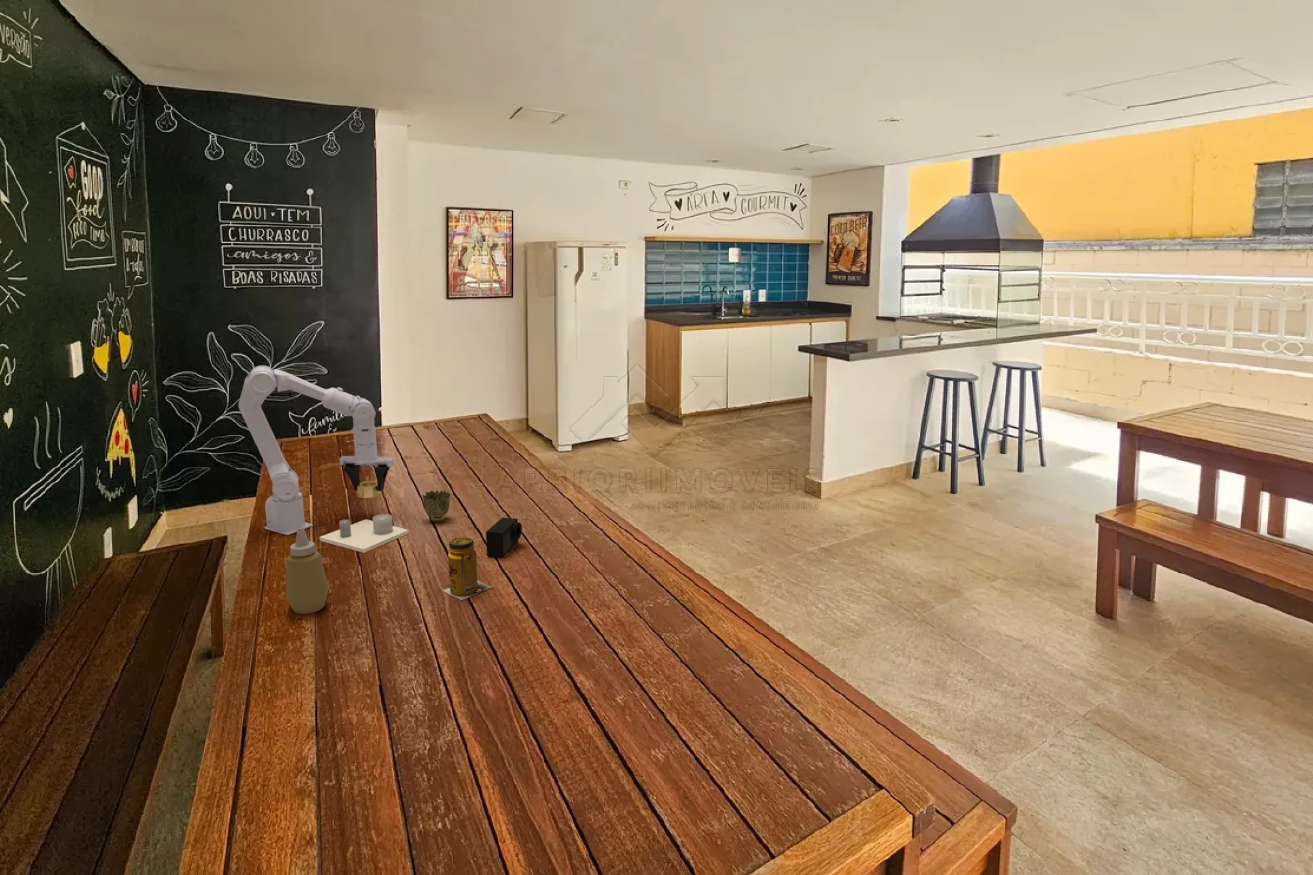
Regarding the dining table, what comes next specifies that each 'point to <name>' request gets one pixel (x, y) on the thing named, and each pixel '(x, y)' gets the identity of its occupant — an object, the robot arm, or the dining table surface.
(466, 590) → the condiment
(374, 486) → the ring
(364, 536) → the stub board
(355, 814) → the dining table surface
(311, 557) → the squeeze bottle
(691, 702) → the dining table surface
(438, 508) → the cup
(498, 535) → the digital camera
